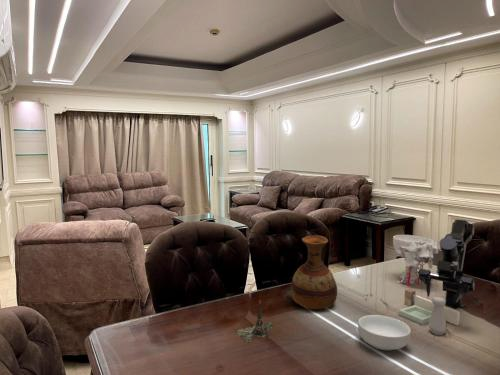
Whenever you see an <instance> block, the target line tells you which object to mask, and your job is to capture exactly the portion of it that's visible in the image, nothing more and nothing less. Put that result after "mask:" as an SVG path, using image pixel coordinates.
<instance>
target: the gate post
mask: <svg viewBox="0 0 500 375" xmlns="http://www.w3.org/2000/svg"><path fill="white" fill-rule="evenodd" d="M413 294H415V295H417V293H416V290H415V289H411V288H407V289H405V290H404V303H403V304H404V305H405V306H407V307H410V306H412V299H413Z"/></svg>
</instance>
